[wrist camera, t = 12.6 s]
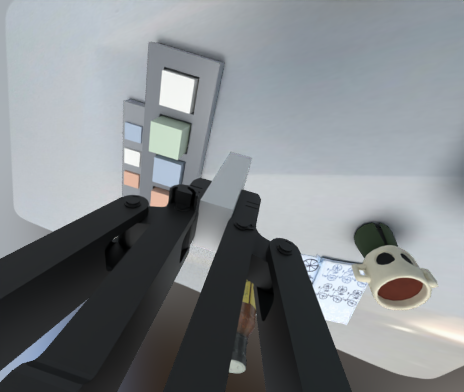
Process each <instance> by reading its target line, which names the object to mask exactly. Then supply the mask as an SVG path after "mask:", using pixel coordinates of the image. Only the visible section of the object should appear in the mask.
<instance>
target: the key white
mask: <svg viewBox="0 0 464 392" xmlns="http://www.w3.org/2000/svg"><path fill="white" fill-rule="evenodd" d="M199 79H200V77H197V76H193V75H190V74H187V73H183V72H180V71H177V70H173V69H167V70H162V78H161V89H160V101H159V105H162V106H165V107H169V108H172V109H175V110H178V111H182V112H185V113H188V114H190V113H192V112H193V111H194V109H195V103H196V97H197V91H198V85H199Z"/></svg>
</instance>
